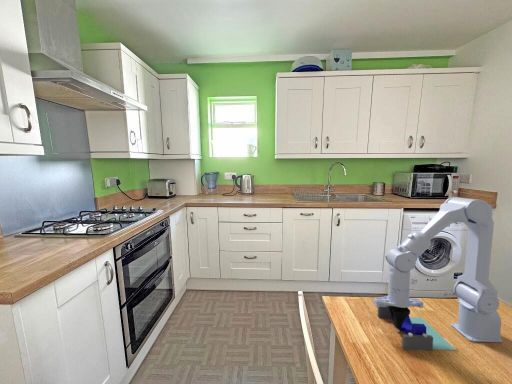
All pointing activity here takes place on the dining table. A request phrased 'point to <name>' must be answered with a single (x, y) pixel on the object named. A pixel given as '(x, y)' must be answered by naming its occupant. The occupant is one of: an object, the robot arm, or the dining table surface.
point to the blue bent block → (412, 327)
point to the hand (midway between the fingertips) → (397, 327)
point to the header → (409, 340)
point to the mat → (433, 335)
